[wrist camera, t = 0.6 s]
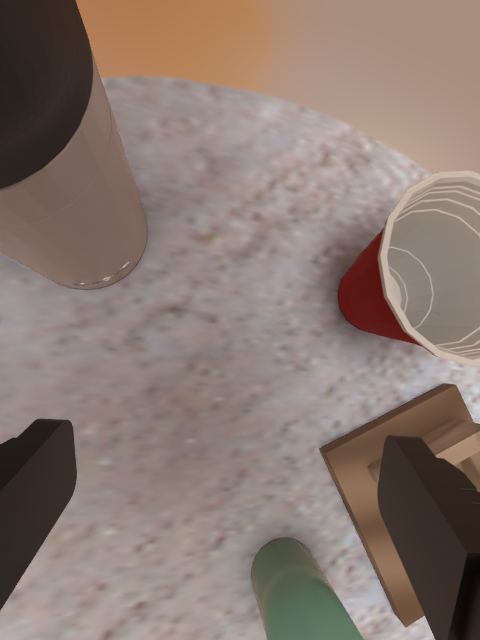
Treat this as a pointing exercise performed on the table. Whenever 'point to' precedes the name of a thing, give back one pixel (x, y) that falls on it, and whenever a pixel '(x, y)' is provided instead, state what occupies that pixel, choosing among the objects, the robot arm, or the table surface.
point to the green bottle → (297, 595)
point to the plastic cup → (423, 271)
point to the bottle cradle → (364, 468)
